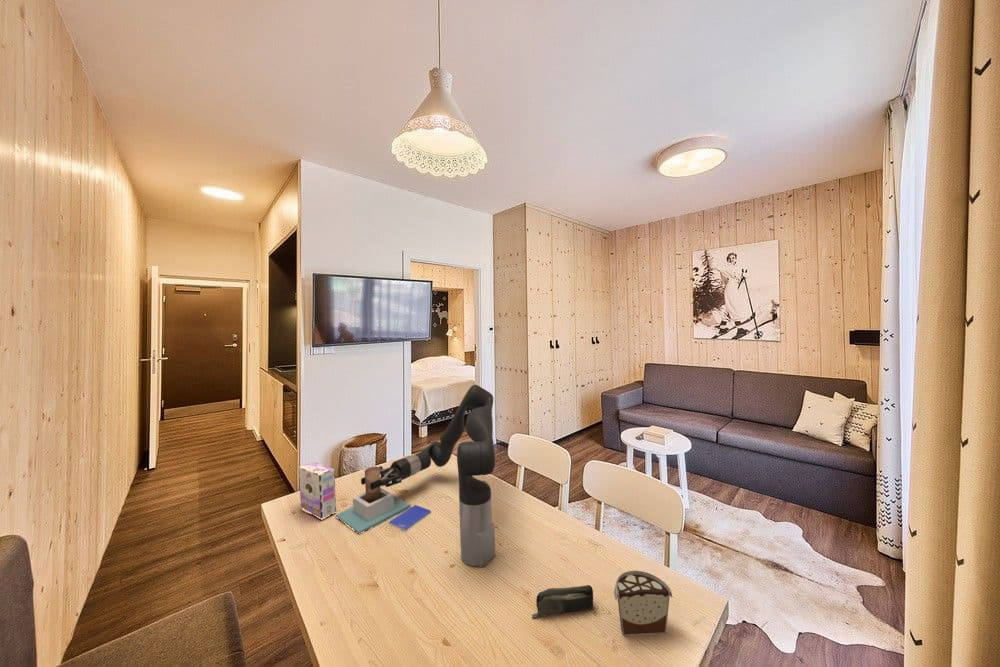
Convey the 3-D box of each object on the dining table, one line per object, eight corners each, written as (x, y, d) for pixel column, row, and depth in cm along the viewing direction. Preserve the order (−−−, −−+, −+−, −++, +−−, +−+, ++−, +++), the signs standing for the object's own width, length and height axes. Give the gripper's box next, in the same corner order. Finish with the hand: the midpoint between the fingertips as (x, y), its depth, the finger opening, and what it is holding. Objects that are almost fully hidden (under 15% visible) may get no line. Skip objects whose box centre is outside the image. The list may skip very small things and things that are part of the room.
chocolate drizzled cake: (658, 609, 79) (658, 567, 79) (672, 633, 73) (672, 588, 73) (606, 611, 79) (605, 569, 78) (616, 636, 72) (615, 591, 72)
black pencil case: (589, 581, 82) (529, 590, 79) (595, 591, 79) (533, 600, 76) (589, 601, 82) (529, 610, 79) (595, 611, 79) (533, 621, 76)
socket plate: (410, 507, 125) (410, 491, 125) (359, 534, 109) (358, 516, 109) (386, 494, 135) (385, 479, 135) (335, 517, 119) (334, 501, 119)
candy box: (337, 513, 122) (335, 468, 122) (321, 521, 117) (319, 475, 117) (315, 503, 130) (313, 460, 129) (300, 510, 125) (297, 466, 124)
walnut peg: (384, 506, 123) (382, 468, 122) (371, 513, 119) (369, 474, 118) (376, 502, 126) (374, 465, 125) (363, 508, 122) (361, 470, 121)
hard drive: (404, 528, 110) (431, 510, 121) (387, 521, 115) (414, 504, 125) (405, 533, 111) (431, 514, 121) (388, 526, 115) (414, 508, 125)
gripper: (395, 453, 137) (355, 468, 124) (417, 462, 128) (376, 479, 115) (395, 471, 138) (356, 488, 124) (418, 481, 129) (377, 501, 115)
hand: (366, 484), depth 120 cm, fingers open, 5 cm apart
